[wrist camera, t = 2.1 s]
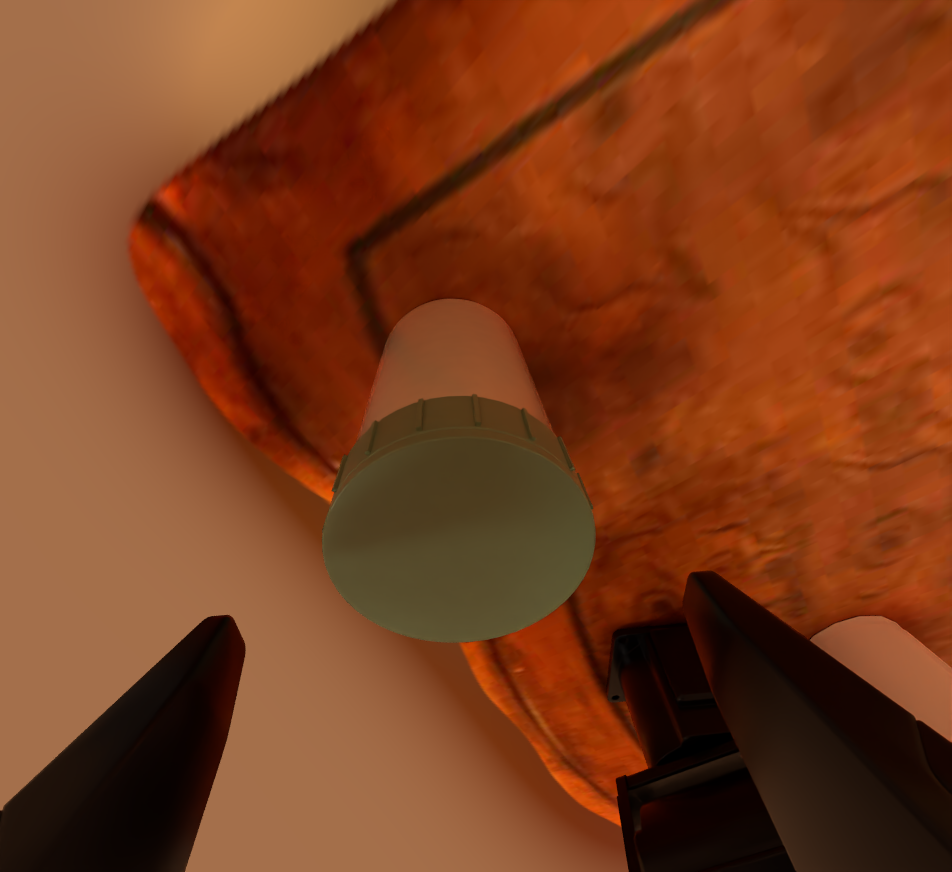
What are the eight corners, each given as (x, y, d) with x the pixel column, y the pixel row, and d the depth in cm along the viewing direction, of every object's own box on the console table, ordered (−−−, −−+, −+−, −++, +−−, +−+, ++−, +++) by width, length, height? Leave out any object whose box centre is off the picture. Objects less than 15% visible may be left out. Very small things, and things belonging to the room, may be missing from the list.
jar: (522, 423, 21) (579, 613, 12) (393, 434, 21) (358, 633, 12) (520, 292, 18) (591, 420, 10) (370, 304, 18) (304, 444, 9)
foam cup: (750, 695, 33) (912, 981, 21) (805, 598, 28) (1047, 898, 17) (883, 692, 33) (1107, 966, 22) (957, 597, 29) (1288, 883, 17)
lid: (573, 576, 14) (589, 631, 12) (361, 595, 14) (350, 654, 12) (582, 382, 11) (606, 422, 9) (310, 405, 11) (287, 449, 9)
